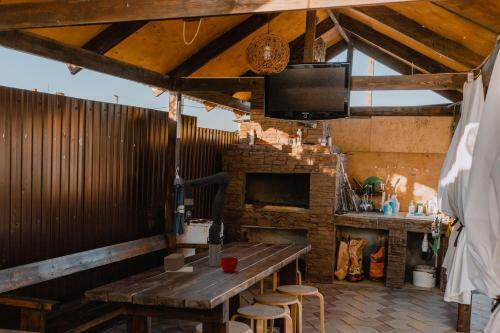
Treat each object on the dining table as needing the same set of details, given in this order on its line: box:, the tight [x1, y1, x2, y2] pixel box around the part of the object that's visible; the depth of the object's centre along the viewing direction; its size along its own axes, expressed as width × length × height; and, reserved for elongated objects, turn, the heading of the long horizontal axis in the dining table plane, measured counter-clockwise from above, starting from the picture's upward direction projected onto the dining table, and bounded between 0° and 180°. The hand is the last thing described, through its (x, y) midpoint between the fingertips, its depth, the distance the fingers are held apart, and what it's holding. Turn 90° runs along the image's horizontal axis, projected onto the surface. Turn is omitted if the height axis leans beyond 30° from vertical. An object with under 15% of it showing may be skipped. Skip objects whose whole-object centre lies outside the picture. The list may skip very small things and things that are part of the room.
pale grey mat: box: [165, 266, 194, 273], centre depth 391 cm, size 20×19×1 cm
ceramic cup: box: [220, 256, 239, 274], centre depth 384 cm, size 13×17×10 cm
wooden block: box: [163, 252, 185, 271], centre depth 393 cm, size 10×10×20 cm
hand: (188, 225), depth 423 cm, fingers closed
